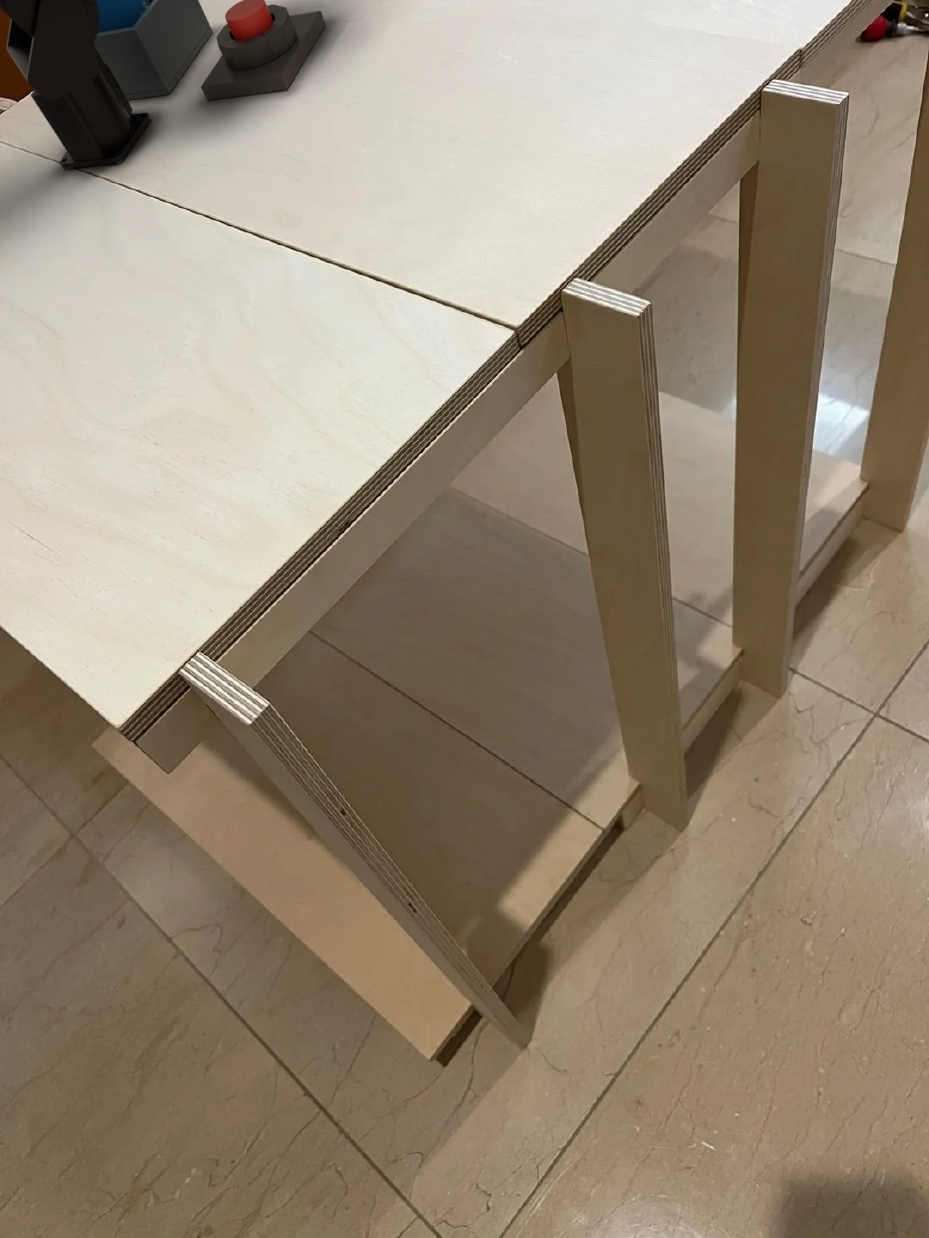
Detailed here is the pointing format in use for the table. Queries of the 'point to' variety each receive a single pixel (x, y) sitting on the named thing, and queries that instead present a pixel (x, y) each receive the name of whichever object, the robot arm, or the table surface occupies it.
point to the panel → (263, 56)
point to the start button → (248, 19)
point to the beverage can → (120, 13)
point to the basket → (155, 47)
